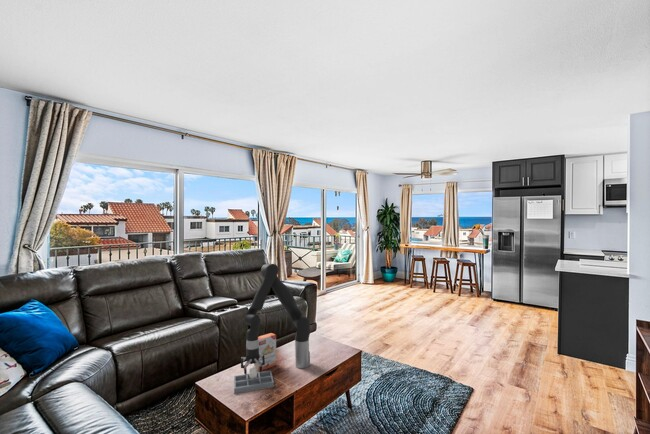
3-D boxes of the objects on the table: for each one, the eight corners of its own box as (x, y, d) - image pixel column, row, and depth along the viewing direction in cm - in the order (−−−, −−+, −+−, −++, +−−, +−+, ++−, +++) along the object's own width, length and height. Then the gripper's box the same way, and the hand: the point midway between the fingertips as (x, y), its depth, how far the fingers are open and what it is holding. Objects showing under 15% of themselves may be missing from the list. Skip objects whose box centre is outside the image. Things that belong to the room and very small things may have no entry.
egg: (256, 377, 197) (256, 364, 197) (257, 381, 193) (257, 367, 193) (249, 378, 196) (248, 365, 196) (249, 382, 191) (249, 368, 191)
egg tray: (270, 374, 201) (270, 370, 201) (273, 386, 187) (273, 382, 187) (234, 380, 195) (234, 376, 195) (234, 393, 180) (234, 388, 180)
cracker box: (258, 372, 204) (258, 340, 205) (253, 369, 209) (253, 337, 209) (276, 365, 214) (276, 334, 214) (271, 362, 219) (271, 332, 219)
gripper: (263, 342, 200) (264, 368, 200) (240, 345, 196) (240, 372, 196) (265, 347, 193) (265, 374, 193) (240, 350, 189) (241, 377, 189)
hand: (253, 373), depth 194 cm, fingers open, 8 cm apart
